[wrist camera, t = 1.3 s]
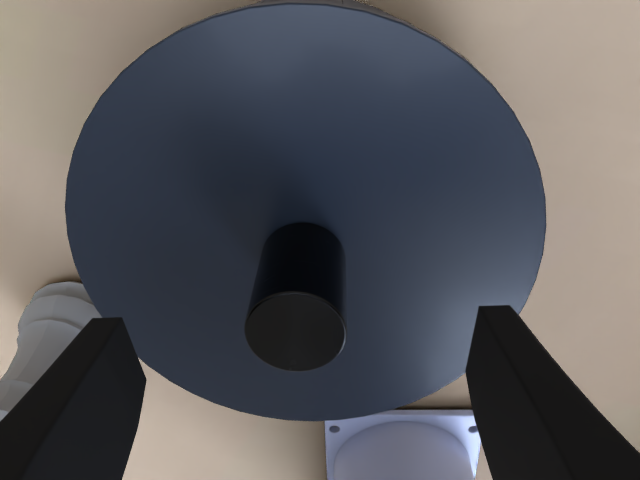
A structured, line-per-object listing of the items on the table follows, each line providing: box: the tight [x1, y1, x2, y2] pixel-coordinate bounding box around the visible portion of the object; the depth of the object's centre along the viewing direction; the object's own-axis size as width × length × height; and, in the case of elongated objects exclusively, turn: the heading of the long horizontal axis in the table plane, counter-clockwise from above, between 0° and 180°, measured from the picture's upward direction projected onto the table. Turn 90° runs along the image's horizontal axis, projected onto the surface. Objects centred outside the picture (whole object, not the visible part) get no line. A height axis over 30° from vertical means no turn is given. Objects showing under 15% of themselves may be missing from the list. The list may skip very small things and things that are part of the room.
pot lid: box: [65, 0, 546, 421], centre depth 14 cm, size 13×13×4 cm
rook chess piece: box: [0, 281, 102, 421], centre depth 21 cm, size 4×4×8 cm
